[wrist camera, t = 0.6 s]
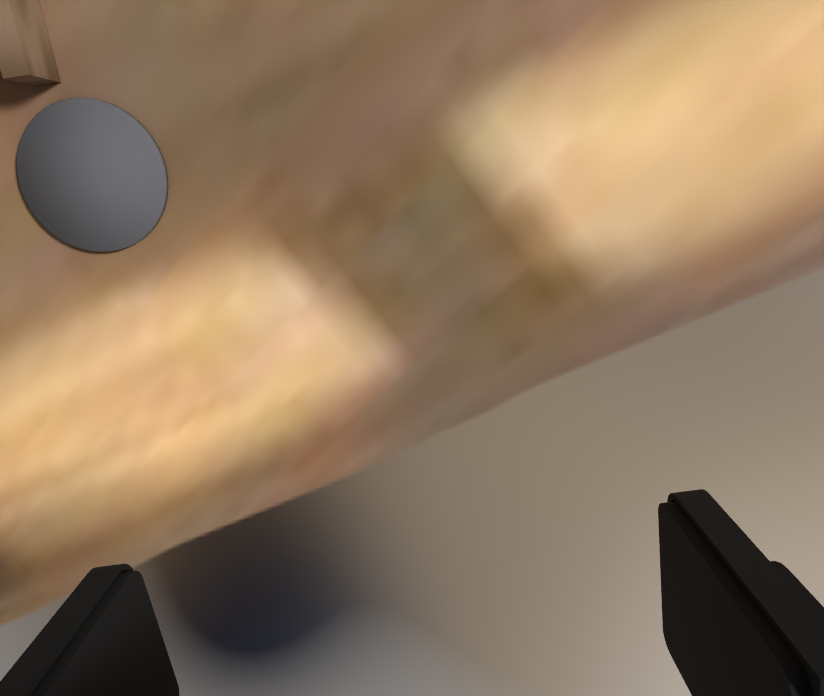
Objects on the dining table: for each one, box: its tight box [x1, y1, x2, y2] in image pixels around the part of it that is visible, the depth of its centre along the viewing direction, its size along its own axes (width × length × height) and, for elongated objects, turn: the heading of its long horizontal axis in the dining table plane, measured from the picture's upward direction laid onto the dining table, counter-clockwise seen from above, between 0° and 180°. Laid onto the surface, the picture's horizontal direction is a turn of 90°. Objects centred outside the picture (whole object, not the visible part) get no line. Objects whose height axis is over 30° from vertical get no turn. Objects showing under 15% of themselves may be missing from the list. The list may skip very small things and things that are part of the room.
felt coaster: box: [16, 98, 168, 252], centre depth 37 cm, size 9×9×1 cm
